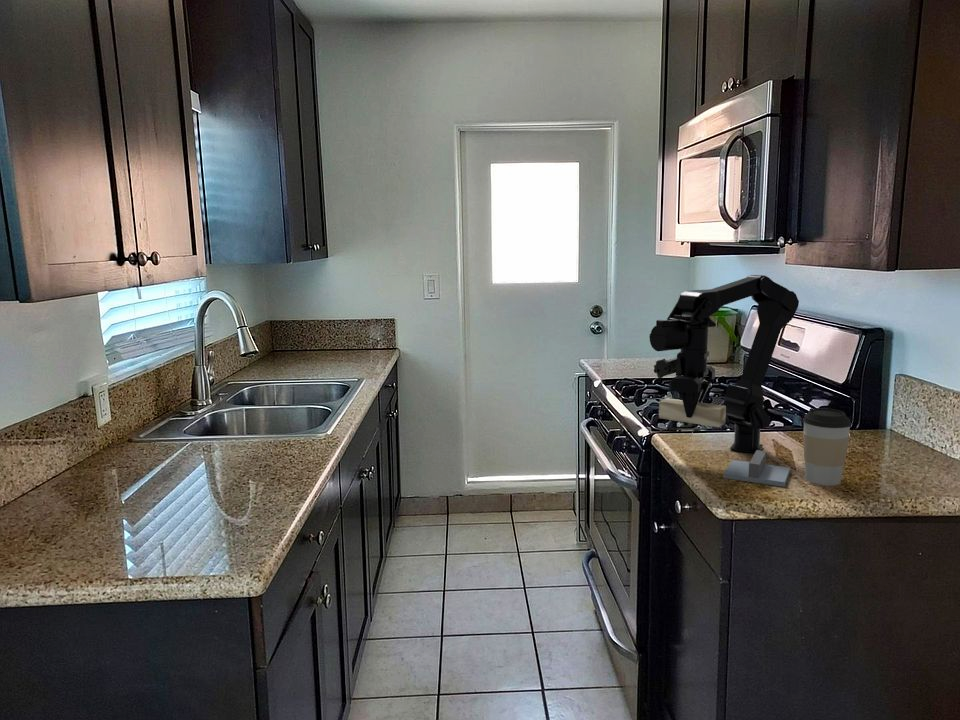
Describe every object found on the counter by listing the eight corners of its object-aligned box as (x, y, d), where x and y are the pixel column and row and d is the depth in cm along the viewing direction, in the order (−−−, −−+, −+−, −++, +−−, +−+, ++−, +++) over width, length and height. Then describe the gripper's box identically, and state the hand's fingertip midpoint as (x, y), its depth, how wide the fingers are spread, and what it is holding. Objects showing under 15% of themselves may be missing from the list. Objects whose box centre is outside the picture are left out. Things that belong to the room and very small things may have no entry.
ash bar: (666, 414, 161) (666, 398, 161) (725, 423, 153) (726, 405, 152) (658, 418, 158) (659, 401, 158) (718, 427, 150) (719, 409, 149)
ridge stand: (732, 464, 153) (732, 447, 153) (790, 472, 147) (791, 454, 147) (723, 477, 145) (724, 459, 144) (784, 486, 139) (785, 468, 138)
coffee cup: (848, 476, 144) (853, 407, 141) (846, 490, 136) (851, 417, 134) (801, 470, 149) (805, 403, 146) (796, 483, 141) (801, 412, 138)
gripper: (669, 340, 164) (667, 402, 167) (646, 351, 149) (644, 420, 151) (716, 342, 159) (714, 407, 162) (698, 355, 143) (695, 426, 146)
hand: (691, 415), depth 155 cm, fingers closed on ash bar, 4 cm apart
